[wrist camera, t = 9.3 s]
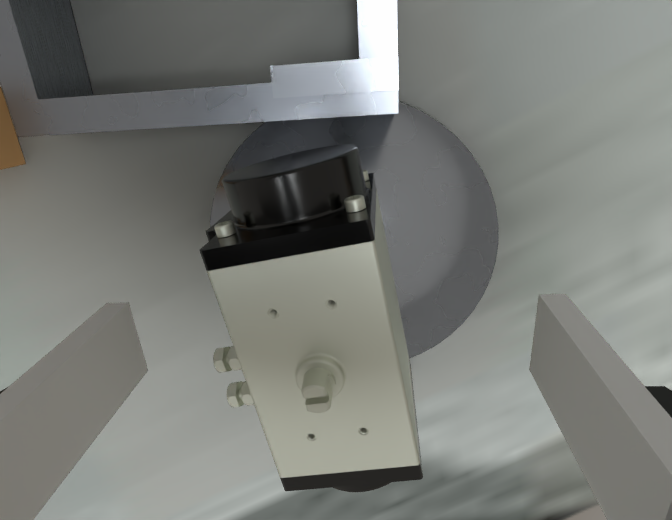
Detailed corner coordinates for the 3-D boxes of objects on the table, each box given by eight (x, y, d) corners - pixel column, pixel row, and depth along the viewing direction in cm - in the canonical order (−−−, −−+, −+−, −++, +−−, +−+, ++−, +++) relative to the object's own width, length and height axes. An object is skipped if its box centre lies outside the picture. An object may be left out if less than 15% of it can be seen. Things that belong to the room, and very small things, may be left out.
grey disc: (192, 76, 22) (149, 75, 18) (503, 53, 20) (535, 45, 16) (243, 370, 28) (219, 419, 24) (481, 370, 27) (500, 424, 23)
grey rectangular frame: (22, -65, 20) (-58, -98, 17) (392, -108, 18) (395, -156, 15) (74, 128, 23) (17, 137, 20) (395, 108, 22) (398, 113, 18)
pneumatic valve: (368, 123, 21) (356, 170, 9) (409, 336, 25) (433, 544, 13) (257, 148, 21) (126, 218, 10) (314, 349, 25) (263, 555, 14)
